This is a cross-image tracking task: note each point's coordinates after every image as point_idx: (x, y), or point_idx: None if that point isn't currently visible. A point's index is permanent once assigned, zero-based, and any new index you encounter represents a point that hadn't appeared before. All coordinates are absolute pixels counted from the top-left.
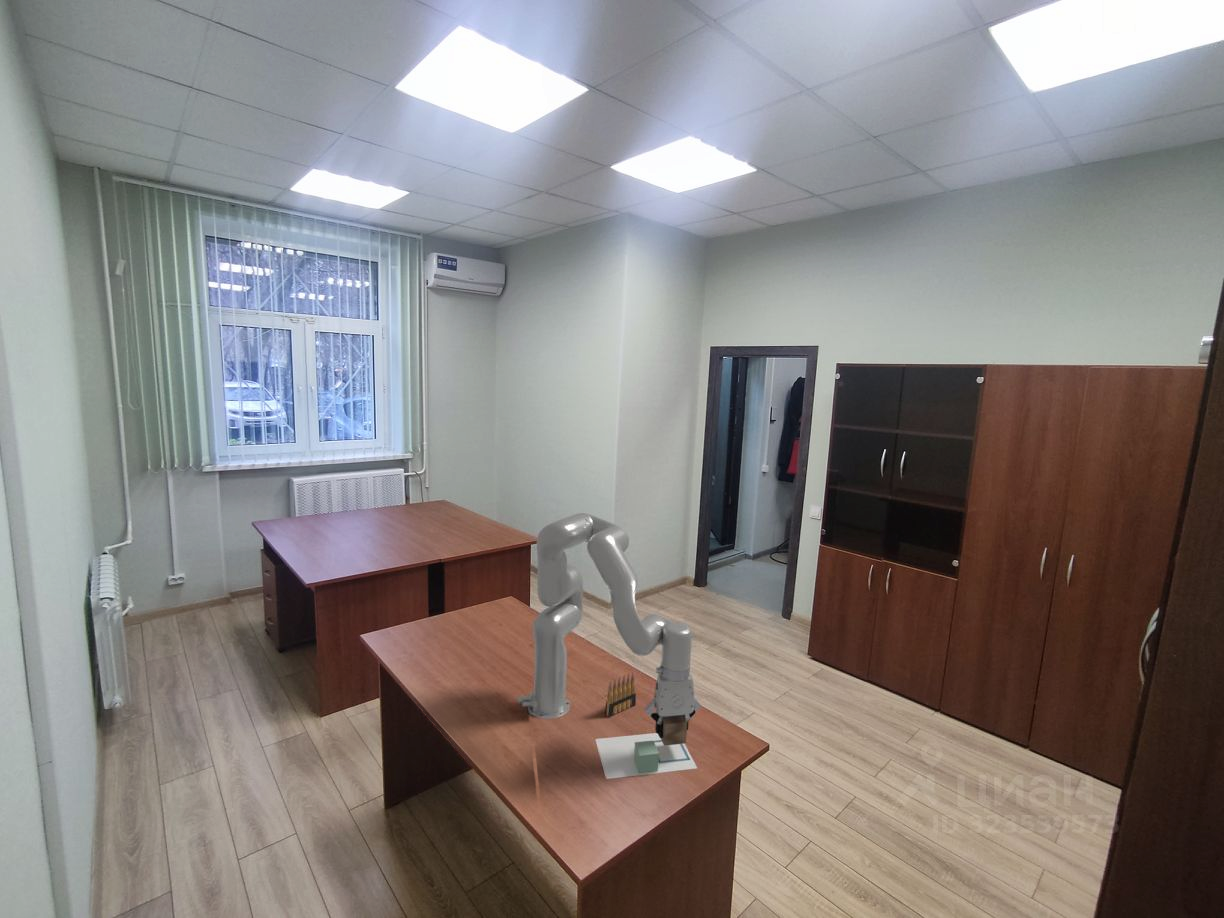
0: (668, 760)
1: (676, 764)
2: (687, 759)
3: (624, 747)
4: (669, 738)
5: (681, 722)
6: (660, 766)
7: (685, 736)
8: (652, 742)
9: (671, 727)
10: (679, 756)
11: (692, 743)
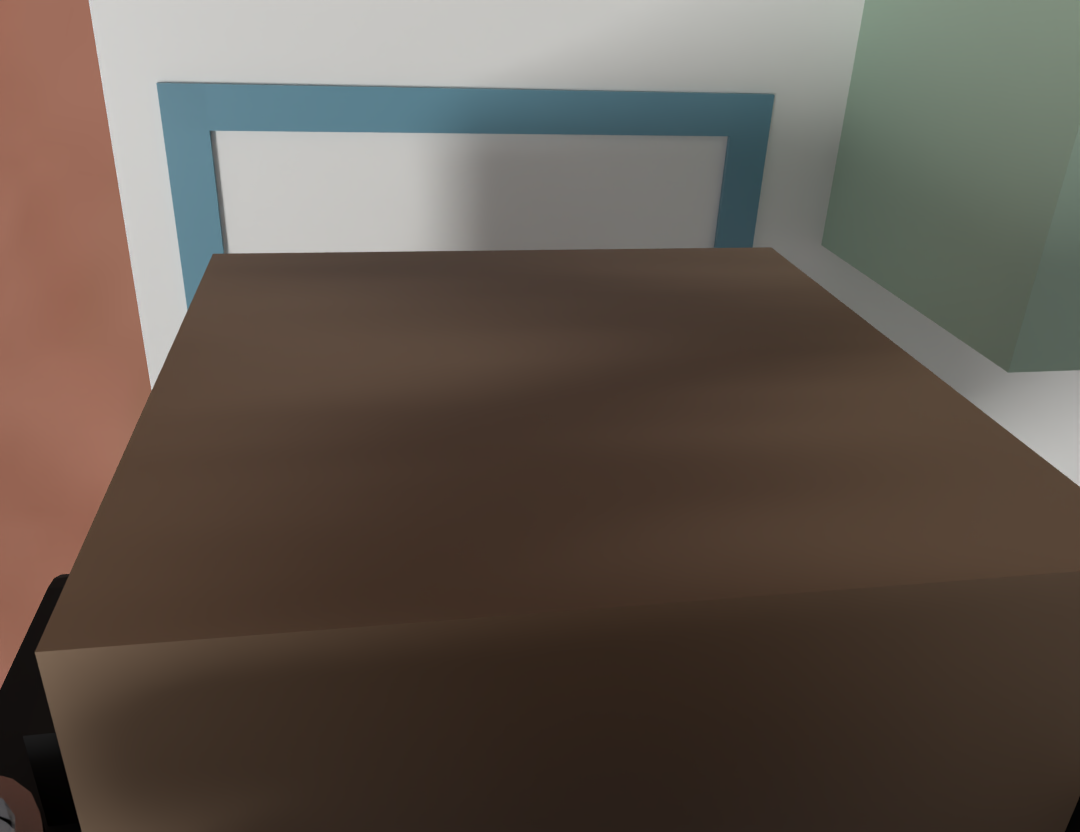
0: (588, 132)
1: (475, 5)
2: (216, 95)
3: None
4: (712, 310)
5: (374, 655)
6: (781, 12)
7: (207, 328)
8: (1062, 309)
9: (814, 489)
10: (350, 206)
11: (16, 523)
